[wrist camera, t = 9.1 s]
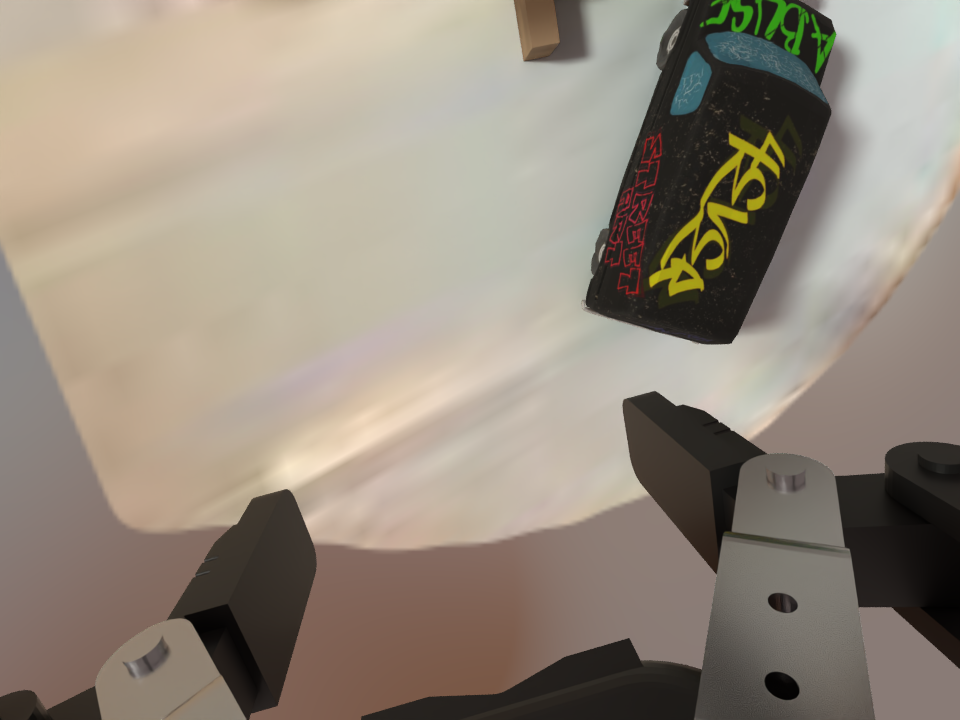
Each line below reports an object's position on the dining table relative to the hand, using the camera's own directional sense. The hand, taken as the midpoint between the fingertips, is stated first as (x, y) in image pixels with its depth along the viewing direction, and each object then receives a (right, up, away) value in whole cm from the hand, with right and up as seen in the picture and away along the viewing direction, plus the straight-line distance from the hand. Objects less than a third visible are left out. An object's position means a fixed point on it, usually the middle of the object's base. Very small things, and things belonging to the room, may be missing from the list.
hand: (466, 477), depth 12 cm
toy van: (+17, +18, +30) cm, 39 cm away
